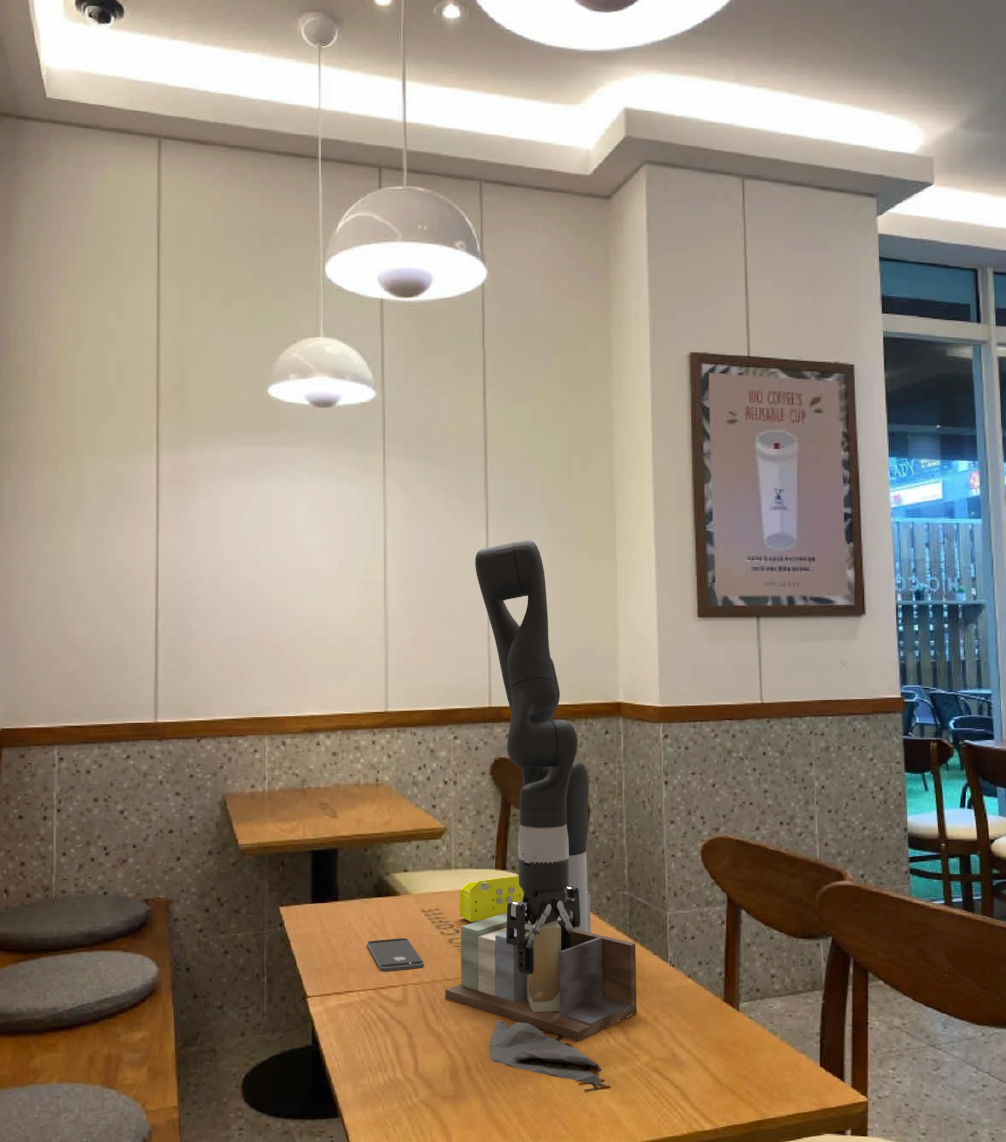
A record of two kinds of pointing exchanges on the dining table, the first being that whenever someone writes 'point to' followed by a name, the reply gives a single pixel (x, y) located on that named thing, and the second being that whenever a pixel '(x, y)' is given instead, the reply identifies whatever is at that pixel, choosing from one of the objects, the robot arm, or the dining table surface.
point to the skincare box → (545, 969)
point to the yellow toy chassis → (489, 897)
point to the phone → (394, 954)
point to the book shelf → (586, 978)
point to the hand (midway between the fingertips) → (544, 966)
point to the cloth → (538, 1052)
